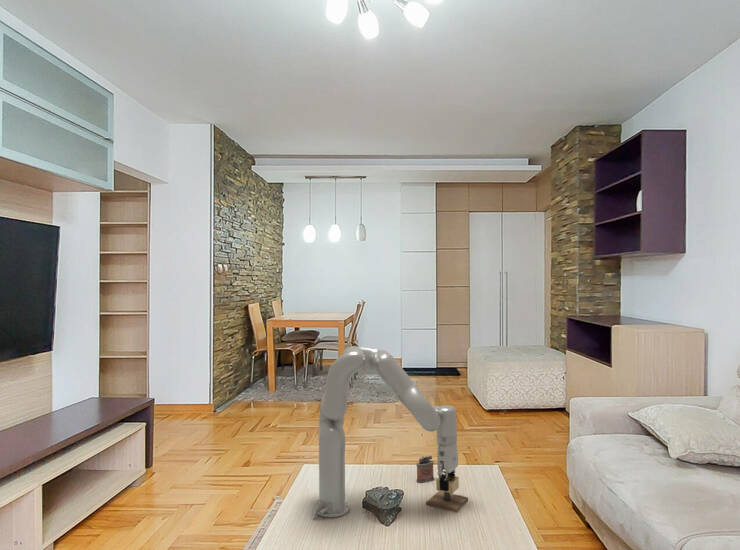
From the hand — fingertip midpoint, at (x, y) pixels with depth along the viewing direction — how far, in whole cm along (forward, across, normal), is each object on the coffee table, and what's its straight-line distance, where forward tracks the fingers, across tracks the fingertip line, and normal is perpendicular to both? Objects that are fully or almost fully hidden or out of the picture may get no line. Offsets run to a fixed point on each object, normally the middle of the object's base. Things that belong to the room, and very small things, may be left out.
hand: (447, 486), depth 187 cm
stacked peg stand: (+6, 0, 0) cm, 6 cm away
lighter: (+6, +15, +16) cm, 23 cm away
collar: (+1, 0, 0) cm, 1 cm away
